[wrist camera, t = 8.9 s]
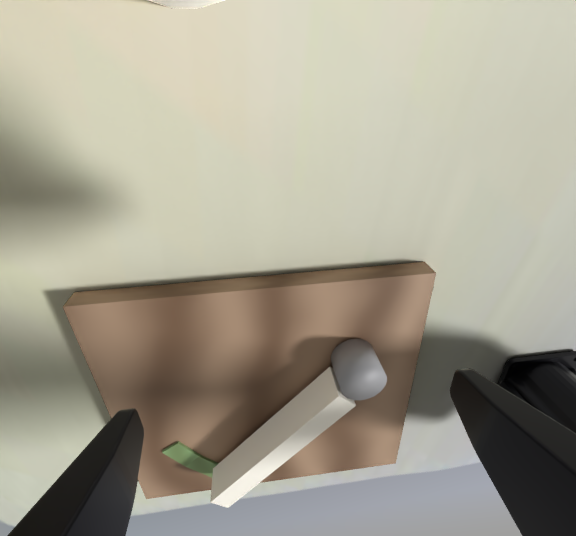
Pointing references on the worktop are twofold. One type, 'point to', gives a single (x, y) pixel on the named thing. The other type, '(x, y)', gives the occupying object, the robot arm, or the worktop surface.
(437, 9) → the worktop surface
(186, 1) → the white open-front box
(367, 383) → the dial needle
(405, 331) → the board
